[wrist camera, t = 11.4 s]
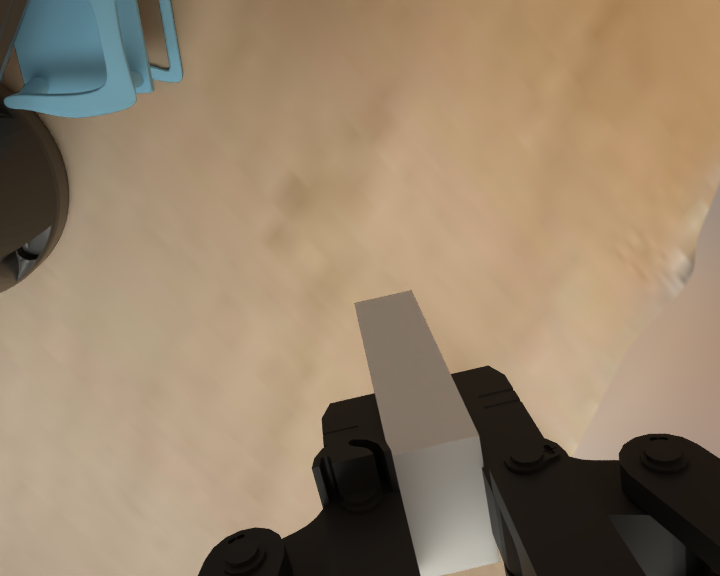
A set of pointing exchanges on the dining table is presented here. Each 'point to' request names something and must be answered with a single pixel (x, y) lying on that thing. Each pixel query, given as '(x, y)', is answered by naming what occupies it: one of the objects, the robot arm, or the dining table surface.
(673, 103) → the dining table surface
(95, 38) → the chair
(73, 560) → the dining table surface
